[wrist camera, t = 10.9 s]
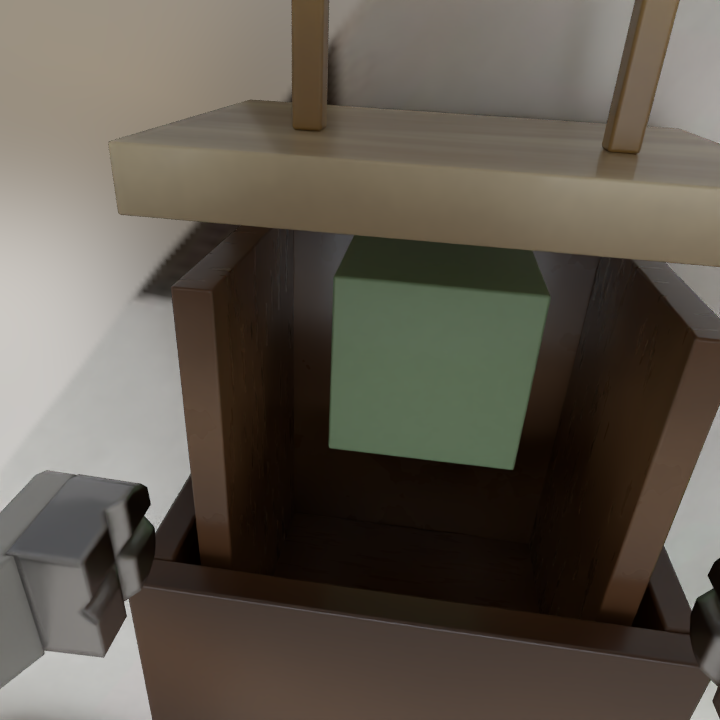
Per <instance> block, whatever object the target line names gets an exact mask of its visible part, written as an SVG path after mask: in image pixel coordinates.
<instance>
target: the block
mask: <svg viewBox="0 0 720 720" xmlns="http://www.w3.org/2000/svg"><path fill="white" fill-rule="evenodd" d="M550 300H551V296H550V293H549V291H548V288H547V286H546V283H545V281H544V278H543V276H542V273H541V271H540V268H539V266H538V263H537V261H536V258H535V256H534V253H533V251H531V250H519V249H508V248H496V247H485V246H473V245H462V244H450V243H439V242H427V241H416V240H404V239H393V238H381V237H370V236H358V235H354V236H353V239H352V241H351V243H350V245H349V247H348V249H347V251H346V253H345V255H344V257H343V259H342V261H341V263H340V265H339V267H338V269H337V271H336V273H335V275H334V278H333V308H332V341H331V375H330V408H329V441H328V445H329V448H332V449H340V450H349V451H357V452H365V453H373V454H382V455H390V456H398V457H407V458H415V459H423V460H432V461H440V462H448V463H457V464H465V465H473V466H482V467H490V468H498V469H506V470H513V469H514V466H515V461H516V457H517V452H518V447H519V443H520V438H521V434H522V429H523V424H524V420H525V415H526V411H527V406H528V401H529V397H530V392H531V388H532V383H533V378H534V374H535V369H536V365H537V360H538V355H539V351H540V346H541V342H542V337H543V333H544V328H545V323H546V319H547V314H548V310H549V305H550Z"/></svg>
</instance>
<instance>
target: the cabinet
mask: <svg viewBox="0 0 720 720" xmlns="http://www.w3.org/2000/svg"><path fill="white" fill-rule="evenodd" d="M155 536H156V548H155V557H154V560H153V564H152V567H151V570H150V574H149V576H148V578H147V580H146V582H145V584H144V585H143V587H142V589H141V591H139V592H138V593H136V594H135V595H133V596H132V597H130V598H129V603H130V608H131V613H132V618H133V623H134V628H135V633H136V638H137V644H138V649H139V654H140V659H141V664H142V669H143V674H144V679H145V684H146V689H147V695H148V700H149V705H150V710H151V715H152V720H690V718H691V716H692V714H693V712H694V711H695V709H696V707H697V705H698V703H699V701H700V699H701V697H702V695H703V693H704V692H705V690H706V688H707V686H708V684H709V682H710V680H711V679H710V678H708V677H707V676H706V675H705V674H704V673H703V672H702V671H701V670H700V669H699V666H698V664H697V661H696V659H695V656H694V653H693V650H692V645H691V640H690V635H689V634H690V615H691V612H692V611H691V608H690V606H689V603H688V601H687V599H686V596H685V594H684V592H683V589H682V587H681V585H680V582H679V580H678V578H677V575H676V573H675V571H674V568H673V566H672V564H671V561H670V559H669V557H668V554H667V552H666V550H665V547H664V545H663V548H662V550H661V553H660V555H659V558H658V560H657V563H656V565H655V568H654V570H653V573H652V575H651V578H650V580H649V583H648V585H647V588H646V590H645V593H644V595H643V598H642V600H641V603H640V605H639V608H638V610H637V613H636V615H635V618H634V620H633V623H632V625H631V626H625V625H618V624H611V623H604V622H596V621H589V620H582V619H575V618H568V617H561V616H554V615H547V614H540V613H533V612H526V611H519V610H512V609H504V608H497V607H490V606H483V605H476V604H469V603H462V602H455V601H448V600H441V599H434V598H427V597H420V596H412V595H405V594H398V593H391V592H384V591H377V590H370V589H363V588H356V587H349V586H342V585H335V584H328V583H320V582H313V581H306V580H299V579H292V578H285V577H278V576H271V575H264V574H257V573H250V572H243V571H236V570H228V569H221V568H214V567H207V566H201V562H200V552H199V543H198V534H197V525H196V515H195V506H194V497H193V488H192V478H191V474H190V476H189V477H188V479H187V481H186V483H185V484H184V486H183V488H182V489H181V491H180V493H179V494H178V496H177V498H176V499H175V501H174V503H173V504H172V506H171V508H170V509H169V511H168V513H167V514H166V516H165V518H164V519H163V521H162V523H161V524H160V526H159V528H158V529H157V531H156V533H155Z"/></svg>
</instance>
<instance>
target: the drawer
mask: <svg viewBox="0 0 720 720" xmlns="http://www.w3.org/2000/svg"><path fill="white" fill-rule="evenodd" d="M679 1H680V0H635V3H634V7H633V12H632V16H631V20H630V25H629V29H628V33H627V38H626V42H625V46H624V51H623V55H622V59H621V64H620V68H619V72H618V77H617V81H616V85H615V90H614V94H613V98H612V103H611V107H610V111H609V116H608V120H607V124H604V123H589V122H574V121H559V120H544V119H530V118H515V117H500V116H485V115H470V114H455V113H440V112H426V111H411V110H396V109H381V108H366V107H351V106H336V105H327V77H328V31H329V29H328V28H329V0H292V102H277V101H262V100H248V101H244V102H241V103H238V104H234V105H231V106H227V107H224V108H220V109H217V110H214V111H210V112H207V113H204V114H200V115H197V116H193V117H190V118H187V119H184V120H180V121H176V122H173V123H170V124H166V125H163V126H160V127H156V128H153V129H149V130H146V131H143V132H139V133H136V134H132V135H129V136H125V137H122V138H119V139H115V140H112V141H109V144H108V145H109V151H110V159H111V165H112V173H113V180H114V186H115V194H116V200H117V207H118V213H119V214H121V215H130V216H140V217H141V216H142V217H152V218H164V219H175V220H187V221H198V222H209V223H221V224H232V225H241V226H239V227H238V228H237V229H236V230H235V231H234V232H233V233H232V234H230V235H229V236H228V237H227V238H226V239H225V240H224V241H223V242H221V243H220V244H219V245H218V246H217V247H216V248H215V249H213V250H212V251H211V252H210V253H209V254H208V255H207V256H206V257H204V258H203V259H202V260H201V261H200V262H199V263H198V264H197V265H195V266H194V267H193V268H192V269H191V270H190V271H189V272H188V273H186V274H185V275H184V276H183V277H182V278H181V279H180V280H178V281H177V282H176V283H175V284H174V285H173V286H172V287H171V294H172V303H173V312H174V321H175V331H176V340H177V349H178V358H179V368H180V377H181V386H182V395H183V404H184V414H185V423H186V432H187V441H188V451H189V460H190V469H191V478H192V488H193V497H194V506H195V515H196V525H197V534H198V543H199V552H200V562H201V566H207V567H214V568H221V569H228V570H236V571H243V572H250V573H257V574H264V575H271V576H278V577H285V578H292V579H299V580H306V581H313V582H320V583H328V584H335V585H342V586H349V587H356V588H363V589H370V590H377V591H384V592H391V593H398V594H405V595H412V596H420V597H427V598H434V599H441V600H448V601H455V602H462V603H469V604H476V605H483V606H490V607H497V608H504V609H512V610H519V611H526V612H533V613H540V614H547V615H554V616H561V617H568V618H575V619H582V620H589V621H596V622H604V623H611V624H618V625H625V626H631V625H632V623H633V620H634V618H635V615H636V613H637V610H638V608H639V605H640V603H641V600H642V598H643V595H644V593H645V590H646V588H647V585H648V583H649V580H650V578H651V575H652V573H653V570H654V568H655V565H656V563H657V560H658V558H659V555H660V553H661V550H662V548H663V545H664V543H665V540H666V538H667V535H668V533H669V530H670V528H671V525H672V523H673V520H674V518H675V515H676V513H677V510H678V508H679V505H680V503H681V500H682V498H683V495H684V493H685V490H686V488H687V485H688V483H689V480H690V478H691V475H692V473H693V470H694V468H695V465H696V463H697V460H698V458H699V455H700V452H701V450H702V447H703V445H704V442H705V440H706V437H707V435H708V432H709V430H710V427H711V425H712V422H713V420H714V417H715V415H716V412H717V410H718V407H719V405H720V318H719V317H718V316H717V315H716V314H715V313H714V312H713V311H712V310H711V309H710V308H709V307H708V306H707V305H706V304H705V303H704V302H703V301H702V300H701V299H700V298H699V297H698V296H697V295H696V294H695V293H694V292H693V291H692V290H691V289H690V288H689V287H688V286H687V285H686V284H685V283H684V282H683V281H682V279H681V278H680V277H679V276H678V275H677V274H676V273H675V272H674V271H673V270H672V269H671V268H670V267H669V266H668V265H667V264H666V263H665V262H668V263H680V264H691V265H703V266H714V267H720V144H719V143H716V142H713V141H711V140H708V139H705V138H703V137H700V136H698V135H695V134H692V133H690V132H687V131H684V130H682V129H678V128H663V127H648V126H647V123H648V120H649V116H650V112H651V108H652V104H653V101H654V97H655V93H656V89H657V85H658V81H659V78H660V74H661V70H662V66H663V62H664V58H665V55H666V51H667V47H668V43H669V39H670V35H671V32H672V28H673V24H674V20H675V16H676V12H677V9H678V5H679ZM354 235H358V236H370V237H381V238H393V239H404V240H416V241H427V242H439V243H450V244H462V245H473V246H485V247H496V248H508V249H519V250H531V251H533V253H534V256H535V258H536V261H537V263H538V266H539V268H540V271H541V273H542V276H543V278H544V281H545V283H546V286H547V288H548V291H549V293H550V296H551V300H550V305H549V310H548V314H547V319H546V323H545V328H544V333H543V337H542V342H541V346H540V351H539V355H538V360H537V365H536V369H535V374H534V378H533V383H532V388H531V392H530V397H529V401H528V406H527V411H526V415H525V420H524V424H523V429H522V434H521V438H520V443H519V447H518V452H517V457H516V461H515V466H514V469H513V470H506V469H498V468H490V467H482V466H473V465H465V464H457V463H448V462H440V461H432V460H423V459H415V458H407V457H398V456H390V455H382V454H373V453H365V452H357V451H349V450H340V449H332V448H329V445H328V441H329V408H330V375H331V341H332V308H333V278H334V275H335V273H336V271H337V269H338V267H339V265H340V263H341V261H342V259H343V257H344V255H345V253H346V251H347V249H348V247H349V245H350V243H351V241H352V239H353V236H354Z"/></svg>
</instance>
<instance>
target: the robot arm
mask: <svg viewBox="0 0 720 720" xmlns="http://www.w3.org/2000/svg"><path fill="white" fill-rule="evenodd" d="M150 505H151V503H150V498H149V494H148V489H147V487H146V486H144V485H142V484H140V483H133V482H126V481H120V480H113V479H106V478H100V477H93V476H86V475H80V474H78V475H74V474H68V473H61V472H55V471H49V470H46V471H44V472H41V473H39V474H37V475H35V476H34V477H33V478H32V480H31V481H30V482H29V483H28V484H27V485H26V486H25V487H24V488H23V489H22V490H21V491H20V492H19V493H18V494H17V495H16V497H15V498H14V499H13V500H12V501H11V502H10V503H9V504H8V505H7V506H6V507H5V508H4V509H3V510H2V511H1V512H0V688H2V687H3V686H4V685H6V684H7V683H8V682H9V681H11V680H12V679H13V678H15V677H16V676H17V675H18V674H20V673H21V672H22V671H23V670H25V669H26V668H27V667H29V666H30V665H31V664H32V663H34V662H35V661H36V660H38V659H39V658H40V657H41V656H43V655H44V650H45V651H53V652H62V653H70V654H78V655H87V656H95V657H103V658H104V656H105V655H106V653H107V651H108V649H109V647H110V646H111V644H112V642H113V640H114V638H115V637H116V635H117V633H118V631H119V629H120V627H121V626H122V624H123V622H124V620H125V618H126V617H127V615H126V610H125V605H124V601H126V600H127V599H129V598H130V597H132V596H133V595H135V594H136V593H138V592H139V591H141V589H142V587H143V585H144V584H145V582H146V580H147V578H148V576H149V574H150V570H151V567H152V564H153V560H154V557H155V548H156V536H155V528H154V526H153V525H152V524H151V523H150V522H149V521H148V520H147V519H146V517H145V516H144V515H145V513H146V511H147V510H148V508H149V506H150ZM708 577H709V579H710V581H711V583H712V585H713V589H712V590H710V591H708V592H707V593H705V594H703V595H701V596H700V597H698V598H697V600H696V602H695V605H694V607H693V610H692V612H691V615H690V634H689V635H690V640H691V645H692V650H693V653H694V656H695V659H696V661H697V664H698V666H699V669H700V670H701V671H702V672H703V673H704V674H705V675H706V676H707V677H708V678H710V679H711V680H712V681H713V682H714V683H715V684H716V685H717V686H718V688H717V691H716V693H715V696H714V698H713V704H714V706H715V709H716V711H717V713H718V716H719V718H720V558H719V559H718V560H717V561H715V562H714V564H713V566H712V568H711V570H710V572H709V574H708Z"/></svg>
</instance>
